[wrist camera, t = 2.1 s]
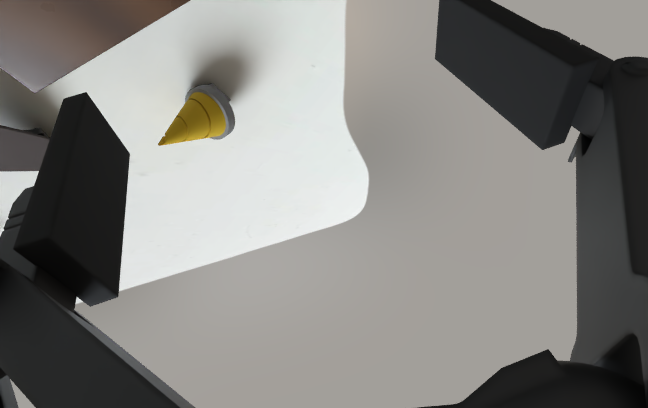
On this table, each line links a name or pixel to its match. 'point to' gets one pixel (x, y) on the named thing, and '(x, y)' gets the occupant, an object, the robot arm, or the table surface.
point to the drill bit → (201, 116)
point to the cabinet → (67, 33)
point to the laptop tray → (22, 149)
